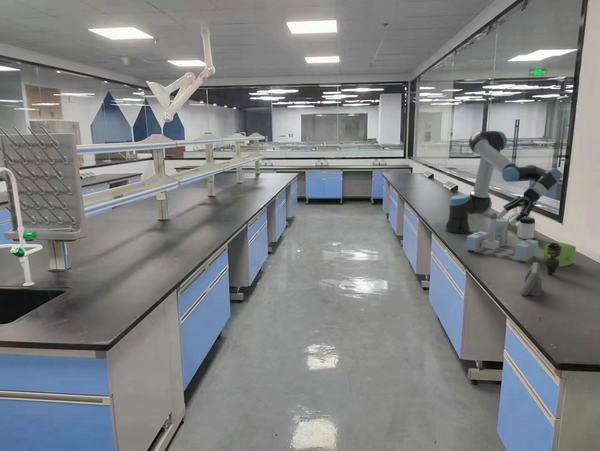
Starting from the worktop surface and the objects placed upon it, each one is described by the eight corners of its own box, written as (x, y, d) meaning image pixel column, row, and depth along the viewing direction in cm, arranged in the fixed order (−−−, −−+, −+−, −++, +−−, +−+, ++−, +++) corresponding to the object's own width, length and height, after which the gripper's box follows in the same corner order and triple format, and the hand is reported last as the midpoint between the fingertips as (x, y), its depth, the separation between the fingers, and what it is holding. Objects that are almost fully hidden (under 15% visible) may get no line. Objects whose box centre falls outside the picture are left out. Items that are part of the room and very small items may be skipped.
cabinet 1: (466, 248, 221) (467, 234, 220) (479, 243, 232) (480, 229, 230) (475, 250, 218) (476, 236, 216) (488, 244, 228) (489, 231, 227)
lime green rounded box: (556, 270, 191) (559, 251, 189) (536, 263, 200) (539, 245, 197) (580, 264, 199) (583, 246, 196) (560, 258, 207) (563, 240, 205)
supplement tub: (497, 241, 240) (499, 217, 237) (510, 245, 232) (513, 220, 228) (484, 243, 237) (486, 218, 234) (497, 247, 228) (499, 221, 225)
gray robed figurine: (523, 283, 175) (526, 259, 173) (547, 288, 169) (550, 263, 167) (512, 294, 163) (515, 269, 161) (537, 300, 157) (540, 274, 155)
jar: (527, 239, 243) (530, 220, 241) (514, 237, 250) (516, 218, 247) (535, 237, 248) (538, 218, 245) (522, 235, 255) (524, 216, 252)
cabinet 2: (514, 258, 203) (515, 243, 201) (526, 252, 214) (528, 237, 212) (524, 260, 200) (526, 245, 198) (536, 254, 210) (538, 239, 209)
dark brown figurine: (545, 271, 189) (549, 240, 185) (558, 274, 185) (563, 242, 182) (542, 274, 184) (546, 243, 181) (556, 277, 181) (561, 245, 178)
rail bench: (467, 250, 223) (468, 246, 223) (477, 246, 231) (478, 242, 230) (526, 262, 201) (526, 258, 201) (535, 257, 209) (535, 253, 209)
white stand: (481, 247, 220) (484, 212, 216) (486, 244, 224) (489, 211, 220) (494, 249, 215) (497, 214, 211) (499, 247, 219) (502, 213, 215)
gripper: (554, 201, 202) (521, 231, 204) (525, 194, 226) (496, 220, 229) (545, 191, 200) (512, 221, 203) (516, 184, 224) (487, 212, 227)
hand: (503, 221), depth 216 cm, fingers open, 13 cm apart
